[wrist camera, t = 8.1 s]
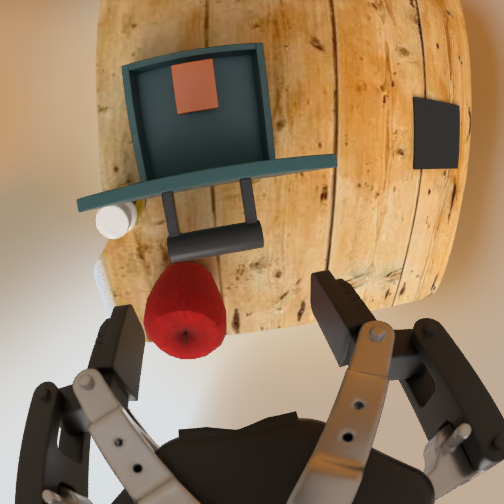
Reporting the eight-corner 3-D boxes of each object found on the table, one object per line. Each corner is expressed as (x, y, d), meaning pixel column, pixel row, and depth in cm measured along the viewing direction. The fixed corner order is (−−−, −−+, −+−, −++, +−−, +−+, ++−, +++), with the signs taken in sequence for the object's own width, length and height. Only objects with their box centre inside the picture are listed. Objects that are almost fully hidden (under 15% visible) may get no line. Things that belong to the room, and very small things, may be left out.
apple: (141, 264, 39) (122, 327, 27) (205, 239, 39) (207, 298, 27) (173, 315, 44) (168, 381, 32) (231, 295, 44) (242, 361, 32)
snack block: (177, 75, 27) (170, 65, 21) (210, 69, 28) (212, 58, 22) (182, 114, 30) (177, 114, 24) (215, 109, 30) (218, 107, 24)
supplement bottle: (150, 186, 34) (136, 206, 27) (143, 219, 36) (129, 247, 29) (116, 178, 33) (94, 197, 25) (111, 211, 35) (90, 237, 27)
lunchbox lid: (75, 199, 14) (95, 286, 15) (336, 153, 15) (345, 242, 17) (142, 192, 30) (151, 238, 31) (277, 169, 31) (283, 215, 32)
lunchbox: (130, 71, 26) (121, 66, 23) (255, 50, 28) (262, 42, 24) (150, 185, 34) (143, 194, 30) (268, 165, 35) (276, 171, 32)
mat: (412, 96, 33) (414, 97, 32) (457, 105, 34) (459, 105, 33) (412, 168, 39) (414, 169, 38) (456, 167, 40) (457, 168, 39)
